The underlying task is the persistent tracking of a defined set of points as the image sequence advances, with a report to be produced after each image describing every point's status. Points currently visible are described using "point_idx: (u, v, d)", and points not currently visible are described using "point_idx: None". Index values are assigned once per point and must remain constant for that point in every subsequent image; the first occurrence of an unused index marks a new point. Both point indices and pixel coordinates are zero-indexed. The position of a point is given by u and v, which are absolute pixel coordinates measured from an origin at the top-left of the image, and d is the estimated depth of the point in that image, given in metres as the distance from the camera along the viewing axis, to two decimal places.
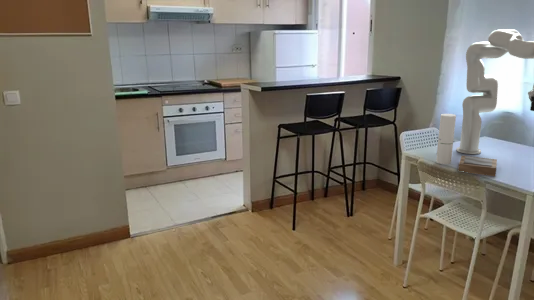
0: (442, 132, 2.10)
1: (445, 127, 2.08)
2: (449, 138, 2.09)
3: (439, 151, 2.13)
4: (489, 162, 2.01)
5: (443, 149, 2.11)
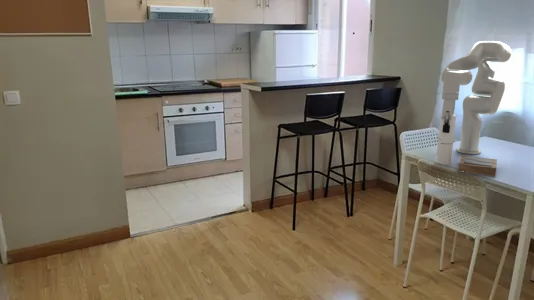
0: (442, 132, 2.10)
1: None
2: (449, 138, 2.09)
3: (439, 151, 2.13)
4: (489, 162, 2.01)
5: (443, 149, 2.11)
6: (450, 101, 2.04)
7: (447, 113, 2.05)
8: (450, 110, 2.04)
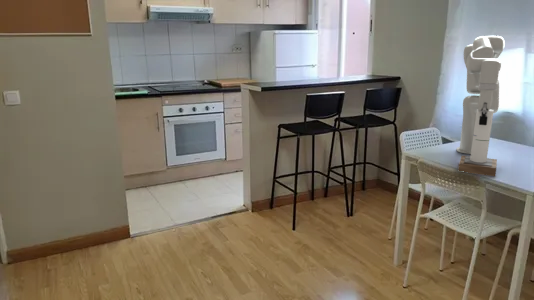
0: (478, 128, 1.97)
1: None
2: (485, 134, 1.97)
3: (474, 148, 2.01)
4: (489, 162, 2.01)
5: (479, 146, 1.99)
6: (488, 92, 1.90)
7: (485, 104, 1.91)
8: (488, 101, 1.91)
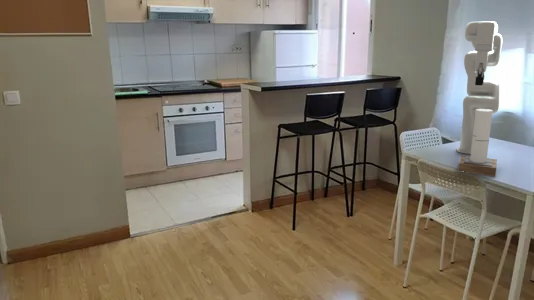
0: (478, 128, 1.97)
1: (481, 123, 1.96)
2: (485, 134, 1.97)
3: (474, 149, 2.01)
4: (489, 162, 2.01)
5: (479, 146, 1.99)
6: (484, 53, 1.97)
7: (481, 64, 1.98)
8: (484, 62, 1.97)
